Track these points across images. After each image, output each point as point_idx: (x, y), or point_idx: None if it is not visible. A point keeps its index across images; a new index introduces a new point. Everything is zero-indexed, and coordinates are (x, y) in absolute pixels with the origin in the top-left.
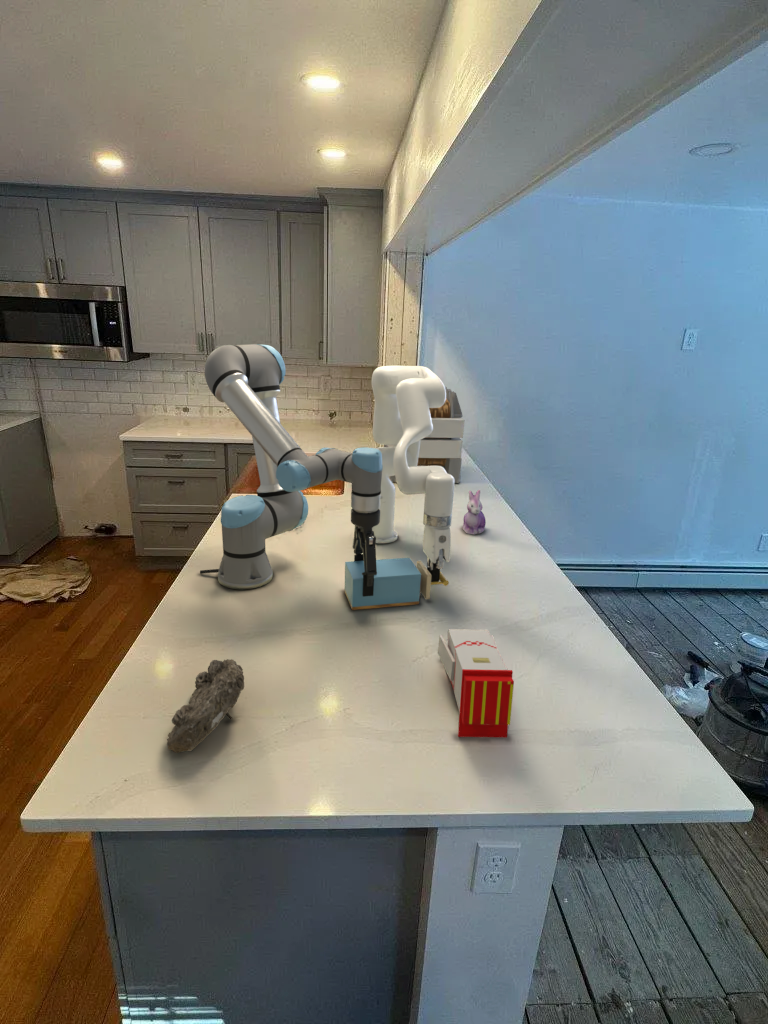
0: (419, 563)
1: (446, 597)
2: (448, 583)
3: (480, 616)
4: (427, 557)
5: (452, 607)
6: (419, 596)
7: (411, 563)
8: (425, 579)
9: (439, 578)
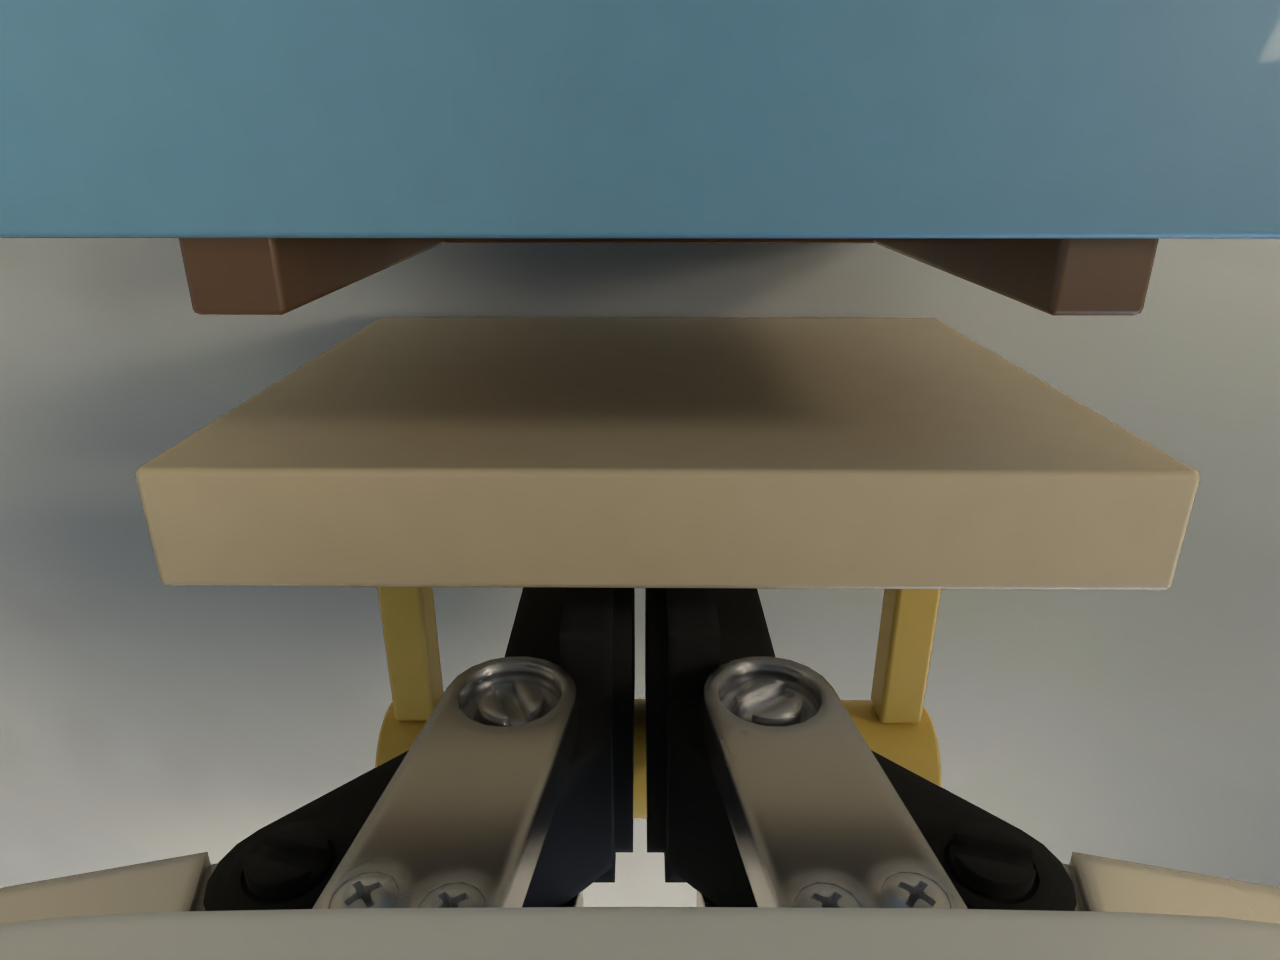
0: (988, 493)
1: (509, 630)
2: None
3: (38, 820)
4: (901, 847)
5: (241, 614)
6: None
7: (878, 139)
8: (348, 409)
9: None
